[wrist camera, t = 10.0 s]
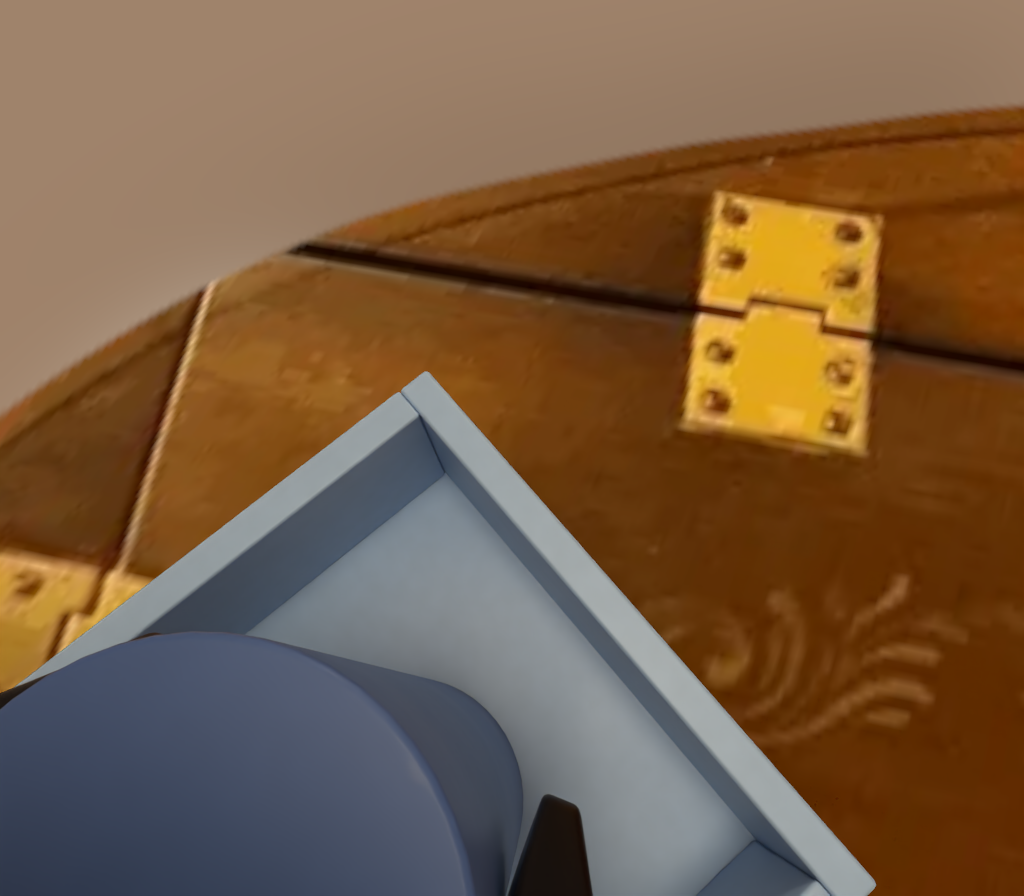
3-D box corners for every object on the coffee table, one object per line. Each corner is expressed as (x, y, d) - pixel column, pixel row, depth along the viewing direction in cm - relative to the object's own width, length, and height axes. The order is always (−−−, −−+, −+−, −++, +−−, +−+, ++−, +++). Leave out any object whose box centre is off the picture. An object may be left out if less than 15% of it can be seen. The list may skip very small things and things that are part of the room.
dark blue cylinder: (380, 992, 14) (30, 1591, 5) (243, 781, 15) (-267, 906, 6) (572, 819, 15) (616, 1020, 5) (427, 630, 16) (247, 514, 6)
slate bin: (355, 1269, 13) (274, 1504, 9) (52, 760, 16) (-108, 778, 12) (793, 838, 15) (880, 885, 11) (453, 442, 18) (426, 368, 14)
